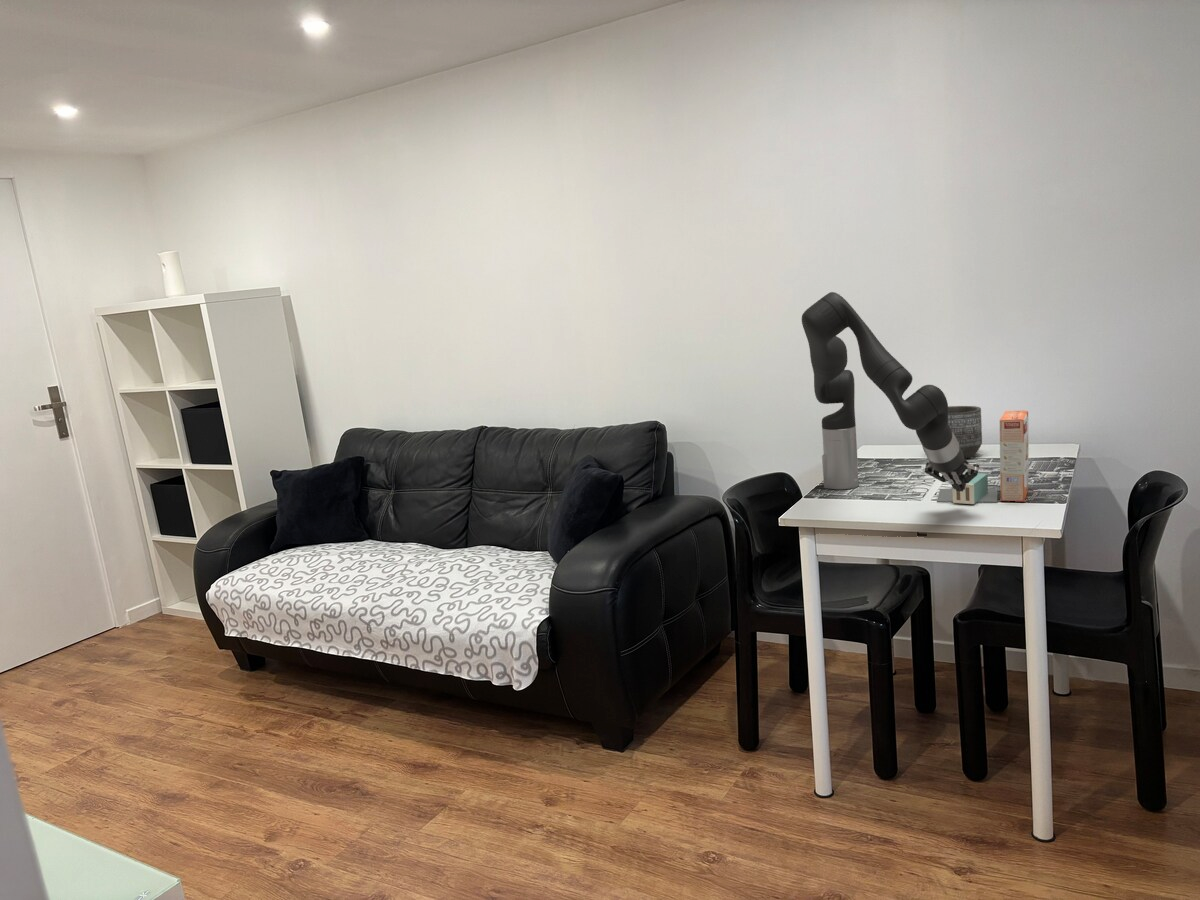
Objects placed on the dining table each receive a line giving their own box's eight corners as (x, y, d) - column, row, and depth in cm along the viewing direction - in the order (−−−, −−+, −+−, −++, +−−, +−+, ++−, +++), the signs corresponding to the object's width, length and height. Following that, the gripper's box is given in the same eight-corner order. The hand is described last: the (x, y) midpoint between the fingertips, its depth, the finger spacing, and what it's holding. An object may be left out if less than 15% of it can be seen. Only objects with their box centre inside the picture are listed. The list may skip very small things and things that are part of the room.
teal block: (952, 483, 217) (967, 472, 226) (952, 502, 218) (967, 491, 227) (973, 484, 214) (987, 473, 223) (973, 504, 215) (987, 492, 224)
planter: (924, 459, 272) (922, 412, 269) (946, 450, 281) (944, 405, 278) (969, 462, 261) (968, 413, 259) (990, 453, 270) (989, 406, 268)
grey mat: (936, 502, 221) (936, 501, 221) (940, 490, 233) (940, 488, 233) (997, 503, 215) (997, 501, 215) (997, 490, 227) (997, 488, 227)
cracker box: (1026, 502, 213) (1025, 418, 210) (999, 502, 216) (997, 419, 212) (1030, 489, 225) (1029, 409, 221) (1004, 488, 228) (1003, 410, 224)
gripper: (909, 461, 204) (930, 499, 215) (968, 463, 196) (986, 503, 207) (917, 435, 207) (936, 474, 218) (974, 436, 199) (992, 476, 210)
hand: (960, 488), depth 213 cm, fingers closed
